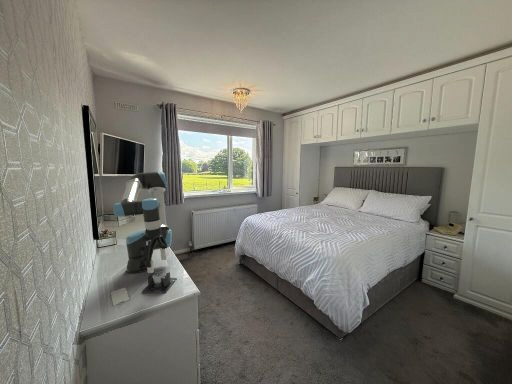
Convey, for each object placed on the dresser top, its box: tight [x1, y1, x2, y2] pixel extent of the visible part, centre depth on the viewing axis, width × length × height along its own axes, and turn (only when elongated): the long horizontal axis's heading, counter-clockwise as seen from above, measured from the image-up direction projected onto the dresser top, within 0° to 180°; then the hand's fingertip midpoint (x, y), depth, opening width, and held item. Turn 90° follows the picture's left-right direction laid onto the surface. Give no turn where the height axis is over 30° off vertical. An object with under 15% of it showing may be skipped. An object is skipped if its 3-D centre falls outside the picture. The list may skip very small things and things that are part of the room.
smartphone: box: [110, 287, 131, 307], centre depth 108 cm, size 7×1×15 cm
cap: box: [152, 271, 166, 288], centre depth 115 cm, size 6×6×6 cm
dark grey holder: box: [141, 272, 178, 294], centre depth 116 cm, size 13×13×6 cm
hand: (157, 265), depth 115 cm, fingers open, 13 cm apart
